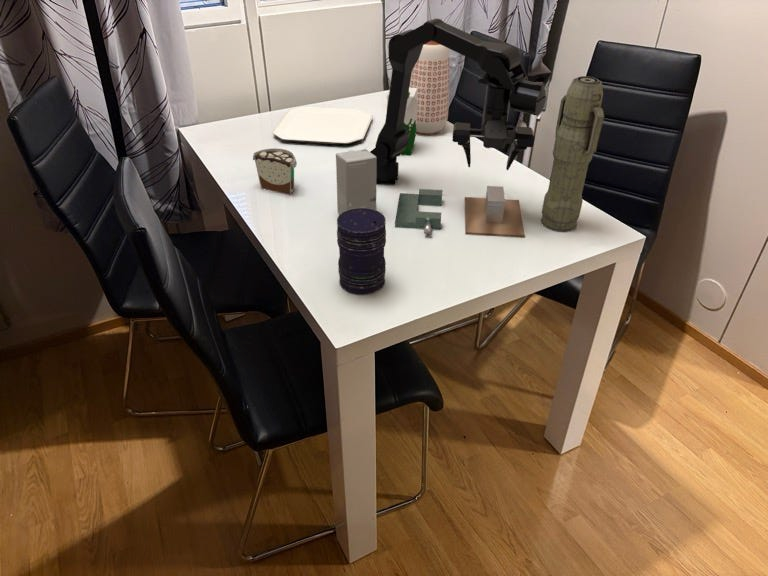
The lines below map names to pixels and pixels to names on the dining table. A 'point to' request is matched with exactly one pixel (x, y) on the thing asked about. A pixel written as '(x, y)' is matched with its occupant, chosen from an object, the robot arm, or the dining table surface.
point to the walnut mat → (508, 228)
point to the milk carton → (410, 119)
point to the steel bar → (494, 204)
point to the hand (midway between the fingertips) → (488, 168)
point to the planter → (432, 87)
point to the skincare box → (356, 180)
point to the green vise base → (417, 219)
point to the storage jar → (361, 250)
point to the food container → (276, 170)
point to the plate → (324, 125)
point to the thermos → (573, 152)
